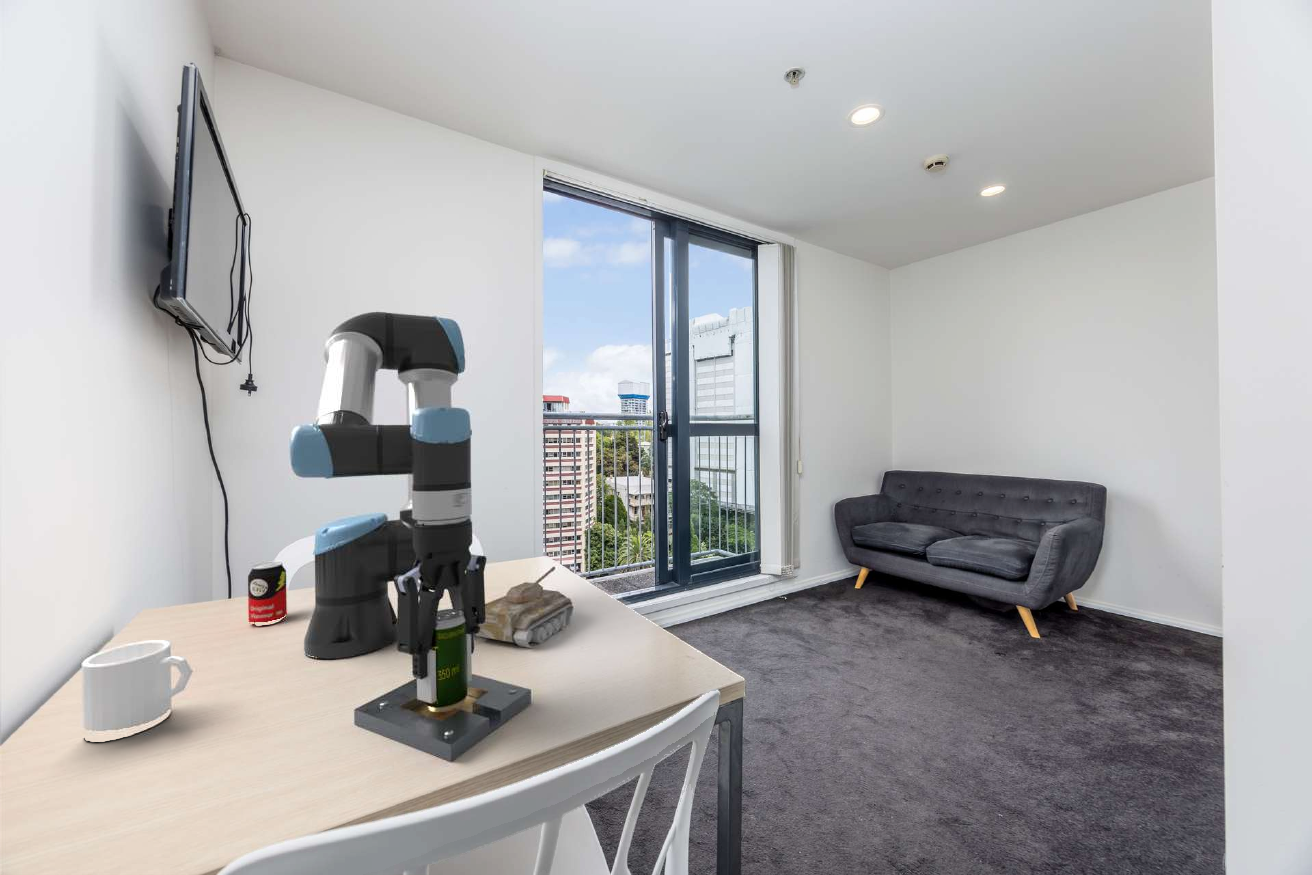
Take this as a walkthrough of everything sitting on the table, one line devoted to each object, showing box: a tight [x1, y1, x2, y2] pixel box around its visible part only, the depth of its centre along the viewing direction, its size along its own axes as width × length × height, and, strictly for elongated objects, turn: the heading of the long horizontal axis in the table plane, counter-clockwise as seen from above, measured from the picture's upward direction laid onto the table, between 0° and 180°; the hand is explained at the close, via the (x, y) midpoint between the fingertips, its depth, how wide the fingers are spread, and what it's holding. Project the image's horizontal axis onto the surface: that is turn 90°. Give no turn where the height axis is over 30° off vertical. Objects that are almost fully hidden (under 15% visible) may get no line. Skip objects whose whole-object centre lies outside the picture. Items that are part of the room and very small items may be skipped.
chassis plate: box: [353, 673, 532, 763], centre depth 68 cm, size 18×14×2 cm
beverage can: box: [247, 561, 288, 623], centre depth 104 cm, size 6×6×12 cm
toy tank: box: [474, 566, 574, 649], centre depth 100 cm, size 15×20×10 cm
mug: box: [81, 639, 194, 731], centre depth 67 cm, size 8×12×10 cm
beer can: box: [425, 608, 467, 712], centre depth 68 cm, size 5×5×12 cm
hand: (445, 688), depth 68 cm, fingers closed on beer can, 5 cm apart
